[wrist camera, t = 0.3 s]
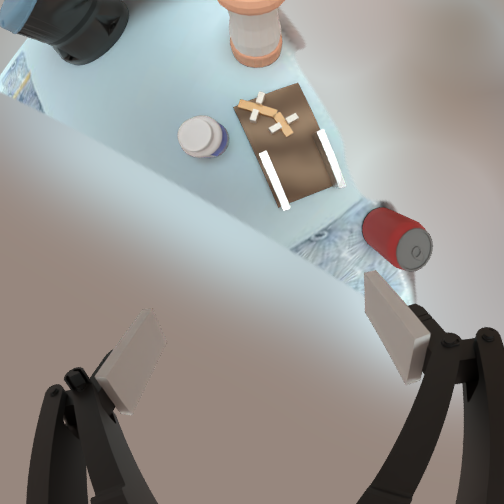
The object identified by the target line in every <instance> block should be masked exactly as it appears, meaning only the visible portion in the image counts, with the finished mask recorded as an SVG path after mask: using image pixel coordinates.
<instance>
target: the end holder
mask: <svg viewBox="0 0 504 504" xmlns="http://www.w3.org/2000/svg"><path fill="white" fill-rule="evenodd" d="M312 137H313V139H314V142H315V144H316V146H317V149H318V151H319V153H320V156H321V158H322V161H323V163H324V166H325V168H326V171H327V173H328V176H329V178H330V181H331V184H332V186H334V187H336V188H339V189H340V188H343V187H345V186H346V183H345V181H344V178H343V175H342V173H341V170H340V167H339V165H338V162H337V160H336V157H335V155H334V152H333V150H332V147H331V145H330V143H329V140H328V138H327V135H326V133H325V131H324V129H322V130H319V131H317V132H315V133H313V134H312ZM259 155H260V158H261V160H262V162H263V164H264V167H265V169H266V171H267V173H268V176H269V178H270V180H271V183H272V185H273V187H274V190H275V192H276V194H277V197H278V199H279V201H280V204H281V206H282V208H283V211H285V210H287V209H290V205H289V203H288V200H287V198H286V195H285V193H284V191H283V188H282V186H281V184H280V181H279V179H278V177H277V174H276V172H275V170H274V167H273V165H272V163H271V161H270V158H269V156H268V154H267V152H266V151H265V152H262V153H260V154H259Z"/></svg>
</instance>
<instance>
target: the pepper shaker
mask: <svg viewBox="0 0 504 504" xmlns="http://www.w3.org/2000/svg"><path fill="white" fill-rule="evenodd" d="M284 1H285V0H218V2H219V4H221V5H222V6H223V7H225V8H226V9H227V10H228V12H229V16H230V20H229V34H230V45H231V48H232V52H233V54H234V56H235V58H236V59H237V60H238V61H239V62H240V63H241V64H243V65H246V66H248V67H254V68H258V67H265V66H268V65H270V64H272V63H273V62H275V61H276V60H277V58H278V57H279V55H280V52H281V47H282V36H281V24H280V20H279V17H278V7H279V6H280V5H281V4H282V3H283V2H284Z"/></svg>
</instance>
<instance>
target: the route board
mask: <svg viewBox="0 0 504 504" xmlns="http://www.w3.org/2000/svg"><path fill="white" fill-rule="evenodd" d="M256 99H257V98H254V99H252V100H250V101H249V102H253V103H256ZM263 106H267V107H270V108H273V109H276V110H277V113H278V112H281V114H282V115H283V117H284V118H287V117H289V116H291V115H292V114H294V113H296V114H297V116H298V117H299V118H298V120H297V121H295V122H293V123H291V124H289V126H290V128H291V129H292V131H293V132H294V133H293V134H291V135H289V136H288V137H285V136H284V134H283V132H282V131H281V130H279V131H277V132H275V133H274V134H272V135H271V133H270V132H269V130H268V129H269V127H271V126H273V125H275V124H276V122H275V120H274V119H273V118H271V117H268V116H264V115H261V114H259V116H258V119H257V122H256V123H252V122H250V117H251V114H252V112H250V111H247V110H243V109H239V108H238V106H235V107H233V108H234V110H235V112H236V114H237V116H238V118H239V120H240V122H241V125H242V127H243V129H244V131H245V133H246V135H247V137H248V140H249V142H250V144H251V146H252V148H253V151H254V153H255V155H256V157H257V159H258V162H259V164H260V166H261V168H262V171H263V173H264V175H265V177H266V180H267V182H268V184H269V187H270V189H271V191H272V194H273V196H274V198H275V201H276V203H277V205H278V208H279V207H281V204H280V201H279V199H278V197H277V194H276V192H275V190H274V187H273V185H272V183H271V180H270V178H269V176H268V173H267V171H266V169H265V167H264V164H263V162H262V160H261V158H260V155H259V154H260V153H262V152H265V151H266V152H267V154H268V156H269V158H270V161H271V163H272V165H273V167H274V170H275V172H276V174H277V177H278V179H279V181H280V184H281V186H282V188H283V191H284V193H285V195H286V198H287V200H288V203H291V202H294V201H296V200H298V199H301V198H303V197H306V196H309V195H311V194H314V193H316V192H319V191H321V190H324V189H326V188H329V187H331V186H332V184H331V181H330V178H329V176H328V173H327V171H326V168H325V166H324V163H323V161H322V158H321V156H320V153H319V151H318V149H317V146H316V144H315V142H314V139H313V137H312V134H313V133H315V132H317V131H319V130H320V128H319V126H318V124H317V121H316V119H315V117H314V115H313V113H312V110H311V108H310V106H309V104H308V102H307V100H306V98H305V96H304V94H303V92H302V90H301V88H300V86H299V84H298V83H296V84H293V85H290V86H287V87H284V88H281V89H278V90H275V91H273V92H270V93H267V94H265V99H264V102H263ZM277 113H276V114H277Z"/></svg>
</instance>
